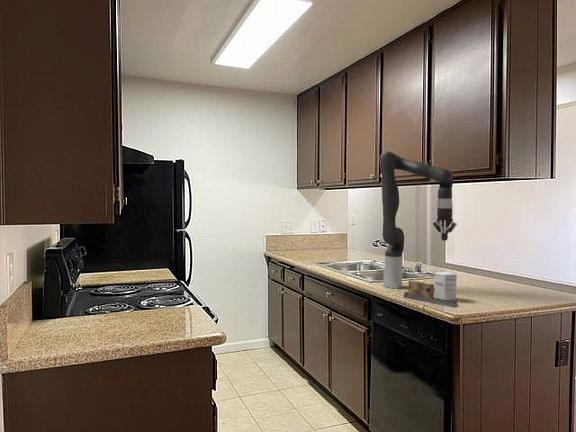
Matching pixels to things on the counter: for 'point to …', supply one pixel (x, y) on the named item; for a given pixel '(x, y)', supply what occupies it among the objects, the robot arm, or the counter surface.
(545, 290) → the counter surface
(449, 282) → the supplement box
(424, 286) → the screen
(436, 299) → the rail
